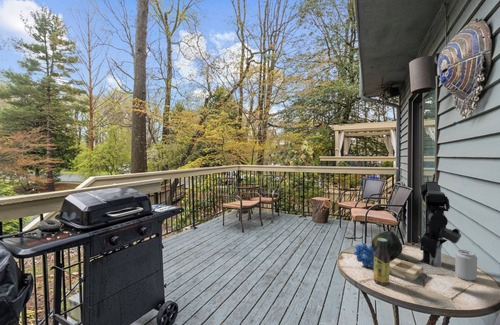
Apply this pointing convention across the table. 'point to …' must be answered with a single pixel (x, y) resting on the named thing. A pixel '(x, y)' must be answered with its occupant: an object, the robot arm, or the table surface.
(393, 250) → the squash
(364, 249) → the grapes
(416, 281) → the socket
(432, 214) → the robot arm
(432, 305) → the table surface
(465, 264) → the can
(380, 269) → the sauce bottle
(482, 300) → the table surface
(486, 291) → the table surface
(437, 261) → the peg
